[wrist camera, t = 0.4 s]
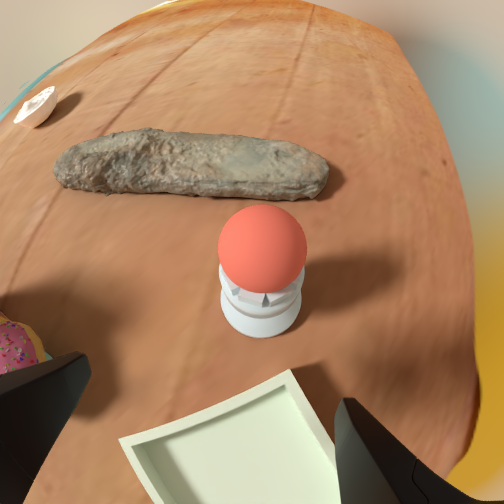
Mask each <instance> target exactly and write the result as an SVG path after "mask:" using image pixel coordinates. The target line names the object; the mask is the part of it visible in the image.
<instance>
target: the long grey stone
mask: <svg viewBox="0 0 504 504" xmlns="http://www.w3.org/2000/svg"><path fill="white" fill-rule="evenodd" d="M53 173H54V175H55V179H56V180H57V181H58V182H59V183H60V184H61V186H62V187H63V188H70V189H82V190H89V191H90V190H91V191H93V192H96V191H98V190H100V191H101V192H102V193H103V192H105V195H106V196H108V195H110V194H112V193H118V194H121V193H123V192H138V193H149V192H150V193H153V192H169V193H176V194H187V195H189V196H195V195H196V194H198V195H200V196H202V197H210V196H219V197H220V196H223V197H244V198H255V199H266V200H281V199H286V200H290V201H294V200H296V199H298V198H305V197H310V198H311V199H313V198H314V197H316V196H317V195H318V194H319V193H320V192H321V191H322V190H323V188H324V187H325V185H326V183H327V179H328V177H329V166H328V165H327V162H326V160H324V159H323V158H322V157H321V156H320V155H318V154H316V153H314V152H312V151H310V150H308V149H306V148H304V147H301V146H299V145H297V144H294V143H291V142H287V141H282V140H267V139H259V138H254V137H247V136H241V135H226V134H214V135H212V134H202V133H188V132H187V133H186V132H164V131H163V130H159V129H152V128H149V127H148V128H144V129H140V130H132V131H129V132H123V131H122V132H119V133H111V134H110V135H108V136H101V137H97V138H95V139H91V140H88V141H84V142H82V143H80V144H77V145H74V146H72V147H70V148H68V149H67V150H66V151H64V152H63V153H62V154H61V155H60V156H59V157H58V159H57V161H56V162H55V164H54V169H53Z"/></svg>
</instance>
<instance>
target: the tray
mask: <svg viewBox="0 0 504 504" xmlns="http://www.w3.org/2000/svg"><path fill="white" fill-rule="evenodd" d="M118 440H119V442H120V444H121V446H122V448H123V450H124V452H125V454H126V456H127V458H128V460H129V462H130V463H131V465H132V467H133V469H134V471H135V472H136V474H137V476H138V478H139V479H140V481H141V483H142V484H143V486H144V488H145V489H146V491H147V493H148V494H149V496H150V497H151V499H152V500H153V502H154V503H155V504H341V499H340V491H339V483H338V475H337V468H336V460H335V446H334V444H333V442H332V441H331V439H330V437H329V436H328V434H327V432H326V431H325V429H324V427H323V425H322V424H321V422H320V420H319V419H318V417H317V415H316V414H315V412H314V410H313V409H312V407H311V405H310V403H309V402H308V400H307V398H306V397H305V395H304V393H303V391H302V390H301V388H300V386H299V384H298V383H297V381H296V379H295V377H294V376H293V374H292V372H291V370H290V369H288V370H286V371H284V372H282V373H280V374H278V375H276V376H274V377H272V378H270V379H268V380H266V381H265V382H263V383H261V384H259V385H257V386H254V387H252V388H250V389H248V390H246V391H244V392H242V393H240V394H238V395H236V396H233V397H231V398H229V399H227V400H224V401H222V402H220V403H218V404H215V405H213V406H211V407H208V408H206V409H203V410H201V411H198V412H196V413H193V414H191V415H188V416H186V417H183V418H180V419H178V420H175V421H172V422H170V423H167V424H164V425H161V426H158V427H155V428H152V429H149V430H146V431H143V432H140V433H136V434H133V435H130V436H127V437H123V438H120V439H118Z"/></svg>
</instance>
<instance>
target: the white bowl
mask: <svg viewBox="0 0 504 504" xmlns="http://www.w3.org/2000/svg"><path fill="white" fill-rule="evenodd" d="M57 97H58V93H57V90H56V87H55V86H52V87H48V88H47V89H45V90H43V91H42V92H41V93H39V94H38V95H36V96H35V97H33V98H32V99H31V100H29V101H26V102H25V103H24V105H23V107H22V108H21V110H20V111H19V113H18V114H17V116H16V117H15V119H14V123H16V124H17V125H20V126H24V127H28V128H34V127H36V126H38V125H40V124H41V123H43V122H44V121H45V120H46V119H47V118H48V117H49V115H50V114H51V113H52V111H53V109H54V108H55V106H56V104H57Z"/></svg>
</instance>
